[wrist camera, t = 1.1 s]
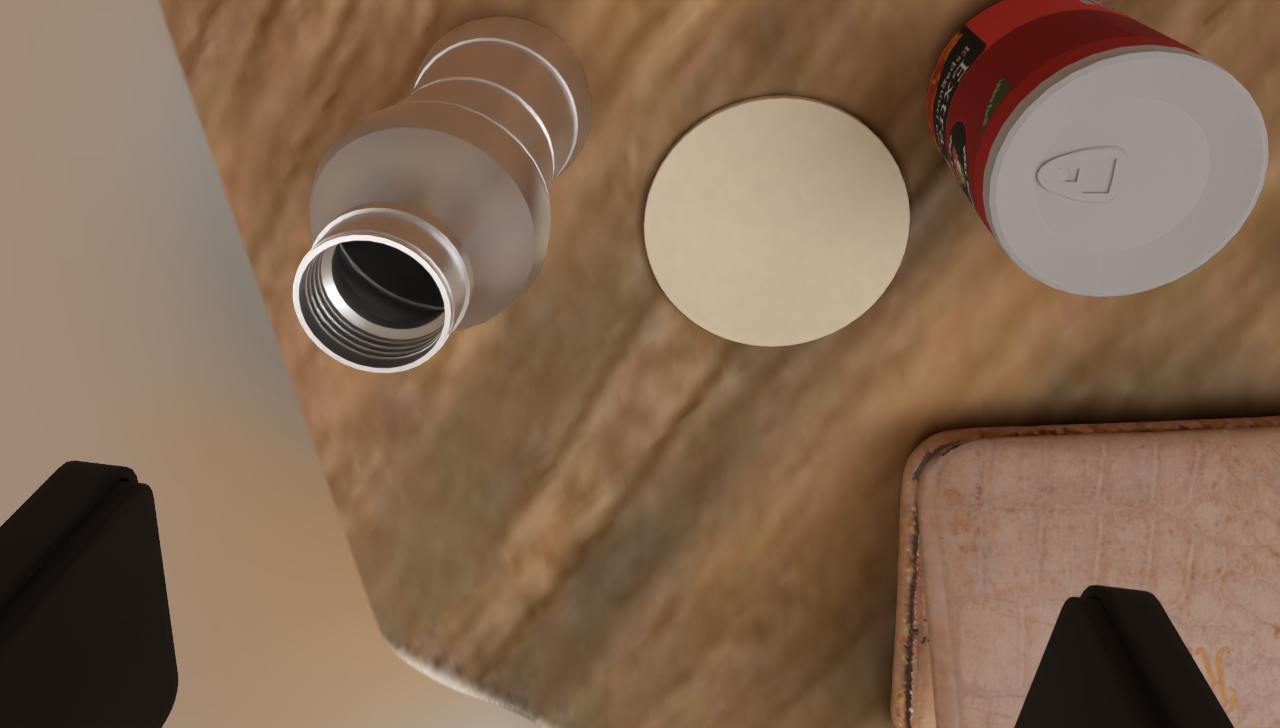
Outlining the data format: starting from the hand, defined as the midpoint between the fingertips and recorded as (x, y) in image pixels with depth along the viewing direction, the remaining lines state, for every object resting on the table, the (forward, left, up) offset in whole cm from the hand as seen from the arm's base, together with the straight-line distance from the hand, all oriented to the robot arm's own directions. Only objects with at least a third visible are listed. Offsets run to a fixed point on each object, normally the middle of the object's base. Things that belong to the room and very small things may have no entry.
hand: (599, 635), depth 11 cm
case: (+24, +25, -33) cm, 47 cm away
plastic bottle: (+3, -6, -33) cm, 34 cm away
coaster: (+8, +5, -33) cm, 34 cm away
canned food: (+1, +14, -33) cm, 36 cm away
